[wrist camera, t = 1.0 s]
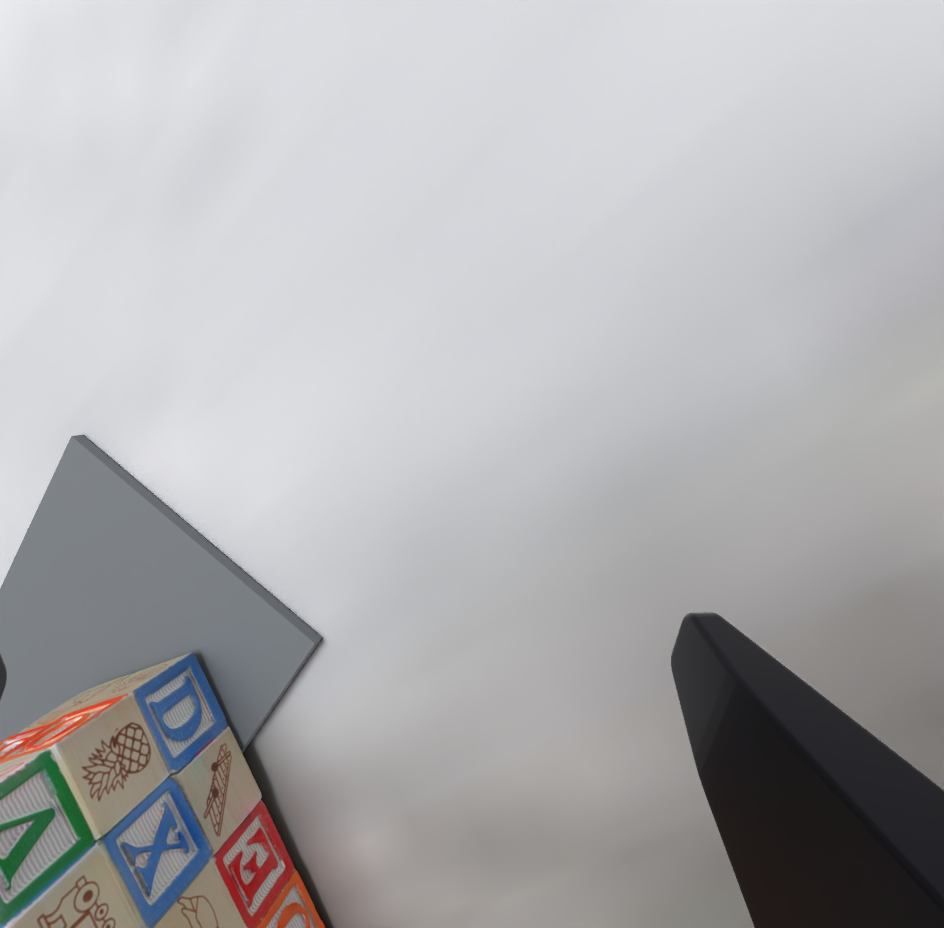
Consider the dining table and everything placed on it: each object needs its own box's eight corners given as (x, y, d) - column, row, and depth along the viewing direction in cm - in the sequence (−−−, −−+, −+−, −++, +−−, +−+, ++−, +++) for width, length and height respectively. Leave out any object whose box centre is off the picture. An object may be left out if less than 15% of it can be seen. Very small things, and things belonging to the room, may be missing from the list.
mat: (322, 637, 24) (315, 643, 23) (79, 991, 31) (70, 1001, 30) (82, 434, 26) (71, 436, 25) (-97, 813, 32) (-109, 820, 32)
